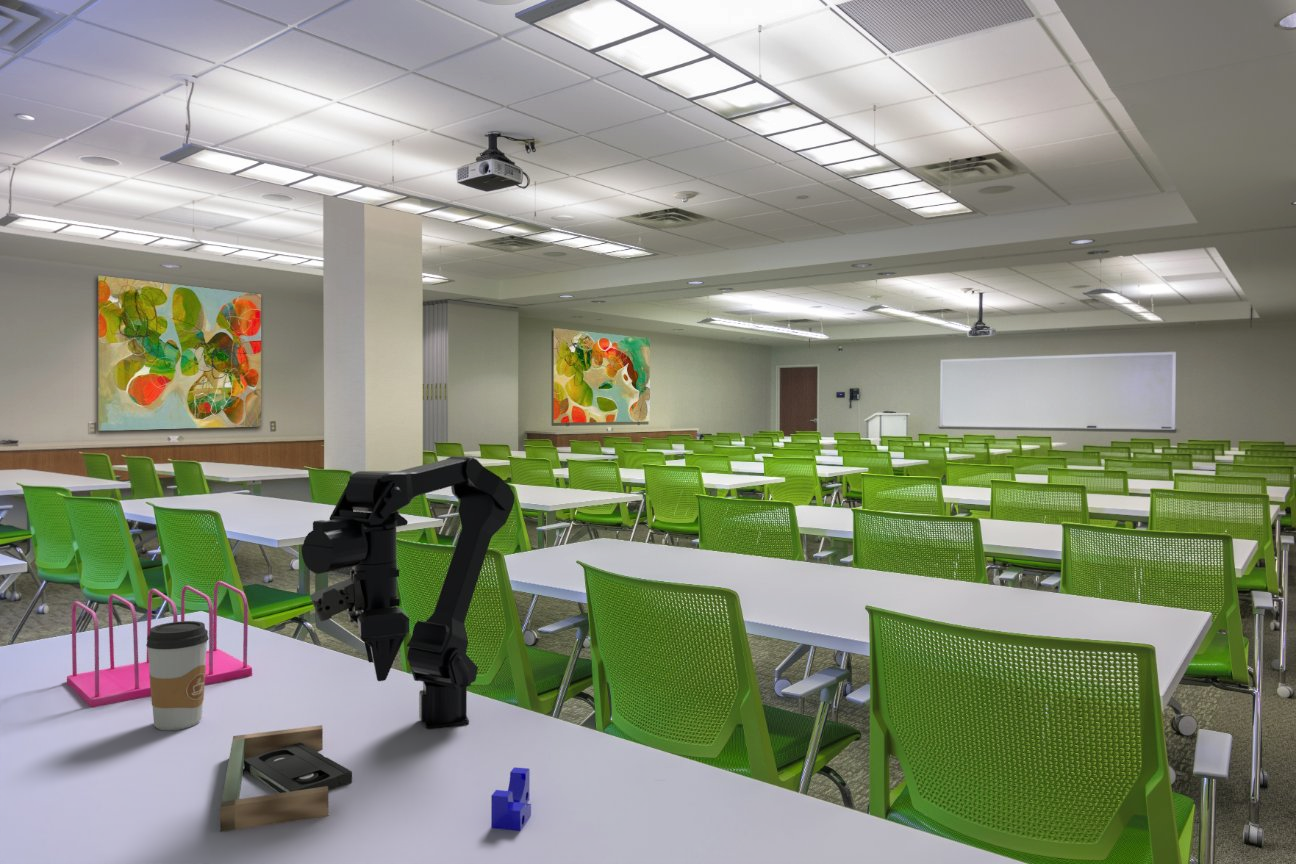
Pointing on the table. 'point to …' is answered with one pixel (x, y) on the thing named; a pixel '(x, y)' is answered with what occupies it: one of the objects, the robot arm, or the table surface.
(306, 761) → the vhs tape
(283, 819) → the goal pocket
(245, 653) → the file sorter
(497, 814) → the cable holder
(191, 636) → the coffee cup
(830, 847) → the table surface
